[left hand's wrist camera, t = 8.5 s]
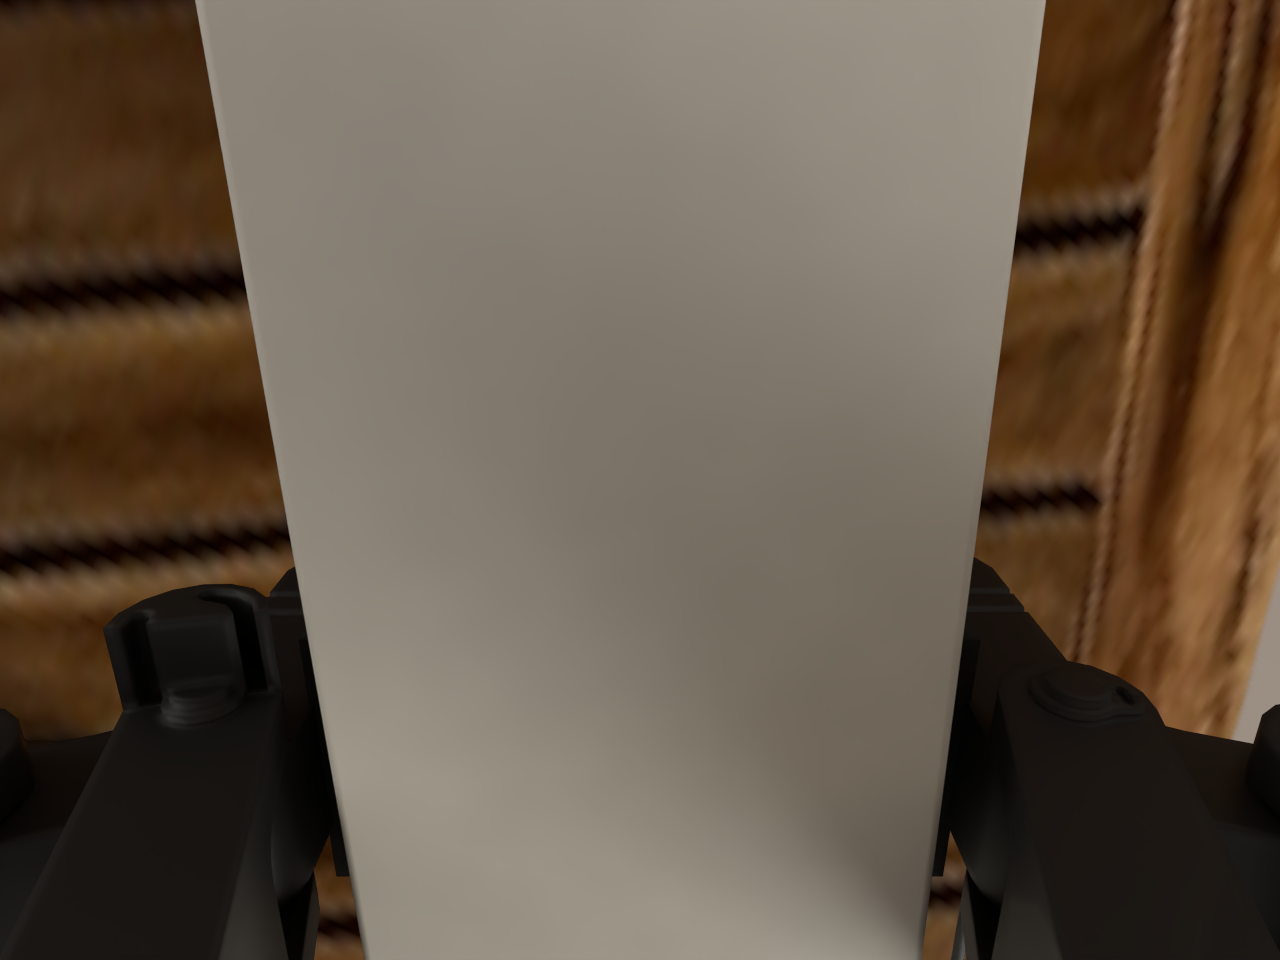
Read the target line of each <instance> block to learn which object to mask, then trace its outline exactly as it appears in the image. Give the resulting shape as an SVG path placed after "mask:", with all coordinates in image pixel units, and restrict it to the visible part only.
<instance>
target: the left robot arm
mask: <svg viewBox="0 0 1280 960" xmlns="http://www.w3.org/2000/svg"><path fill="white" fill-rule="evenodd" d="M103 631H104V635H105V639H106V643H107V647H108V651H109V655H110V659H111V663H112V667H113V671H114V675H115V679H116V683H117V687H118V691H119V695H120V699H121V703H122V707H123V712H122V714H121V716H120V718H119V720H118V722H117V724H116V726H115V728H114V730H113V731H109V732H105V733H101V734H97V735H92V736H87V737H81V738H76V739H71V740H66V741H60V742H46V741H25V740H24V737H23V734H22V730H21V727H20V724H19V720H18V719H17V718H16V717H14V716H13V715H12V714H10V713H9V712H8V711H6V710H5V709H0V960H314V954H315V946H316V938H317V930H318V921H319V913H320V906H319V900H318V893H317V887H316V881H315V875H314V868H315V866H316V863H317V861H318V859H319V856H320V854H321V852H322V850H323V847H324V845H325V843H326V841H327V838H328V836H329V834H330V839H331V845H332V851H333V858H334V864H335V870H336V876H350V873H349V868H348V862H347V856H346V851H345V845H344V839H343V834H342V828H341V822H340V817H339V811H338V805H337V800H336V794H335V789H334V783H333V777H332V772H331V766H330V760H329V755H328V749H327V743H326V738H325V732H324V726H323V721H322V715H321V709H320V704H319V698H318V692H317V687H316V681H315V675H314V670H313V664H312V658H311V653H310V647H309V641H308V636H307V630H306V624H305V619H304V613H303V607H302V602H301V596H300V590H299V585H298V579H297V573H296V568H295V567H293V568H292V569H290V570H288V571H287V572H286V573H285V575H284V576H283V577H282V578H281V580H280V581H279V582H278V583H277V585H276V586H275V587H274V588H273V590H272V591H271V592H270V597H265V596H263V595H262V594H261V593H259V592H258V591H256V590H255V589H253V588H248V587H244V586H239V585H234V584H203V585H198V586H192V587H187V588H181V589H175V590H171V591H168V592H165V593H162V594H159V595H156V596H153V597H150V598H147V599H144V600H142V601H140V602H138V603H137V604H135V605H133V606H131V607H129V608H127V609H126V610H124V611H122V612H120V613H118V614H117V615H116V616H115V617H114V618H113V619H112V620H111V621H110V622H109V623H108V624H107V625H106V626H105V627H104V628H103ZM950 831H951V833H952V835H953V838H954V840H955V842H956V844H957V847H958V849H959V851H960V853H961V856H962V858H963V860H964V863H965V865H966V867H967V869H966V875H965V881H964V887H963V893H962V898H961V904H960V910H959V916H958V922H957V927H956V933H955V939H954V945H953V951H952V958H951V960H964V957H965V952H966V960H1280V704H1279V705H1275V706H1274V707H1272V708H1271V709H1270V710H1268V711H1267V712H1265V713H1264V714H1263V715H1262V717H1261V721H1260V724H1259V727H1258V731H1257V734H1256V737H1255V740H1254V744H1251V743H1246V742H1241V741H1235V740H1230V739H1225V738H1220V737H1214V736H1209V735H1204V734H1198V733H1193V732H1188V731H1183V730H1179V729H1175V728H1171V727H1167V726H1165V724H1164V722H1163V721H1162V719H1161V717H1160V715H1159V713H1158V711H1157V709H1156V708H1155V707H1154V705H1153V704H1152V703H1151V702H1150V701H1149V699H1148V698H1147V697H1146V696H1145V695H1144V693H1143V692H1141V691H1140V690H1138V689H1137V688H1135V687H1134V686H1132V685H1131V684H1129V683H1128V682H1126V681H1124V680H1123V679H1121V678H1120V677H1118V676H1115V675H1113V674H1110V673H1108V672H1105V671H1103V670H1100V669H1098V668H1095V667H1093V666H1089V665H1085V664H1080V663H1075V662H1070V661H1067V660H1066V659H1065V657H1064V656H1063V655H1062V654H1061V653H1060V651H1059V650H1058V649H1057V648H1056V646H1055V645H1054V644H1053V643H1052V641H1051V640H1050V639H1049V638H1048V636H1047V635H1046V634H1045V633H1044V631H1043V630H1042V629H1041V628H1040V626H1039V625H1038V624H1037V623H1036V622H1035V620H1034V619H1033V618H1032V617H1031V615H1030V614H1029V613H1028V612H1024V607H1023V605H1022V604H1021V603H1020V602H1019V600H1018V599H1017V598H1016V597H1015V595H1014V594H1010V589H1009V588H1008V587H1007V586H1006V584H1005V583H1004V582H1003V581H1002V579H1001V578H1000V577H999V576H998V574H997V573H996V572H995V571H994V569H993V568H992V567H990V566H988V565H987V564H985V563H983V562H981V561H980V560H978V559H976V558H975V557H973V564H972V572H971V580H970V587H969V595H968V603H967V611H966V618H965V626H964V634H963V641H962V649H961V657H960V664H959V672H958V680H957V687H956V695H955V703H954V711H953V718H952V726H951V734H950V741H949V749H948V757H947V764H946V772H945V780H944V787H943V795H942V803H941V811H940V818H939V826H938V834H937V841H936V849H935V857H934V864H933V872H932V876H943V872H944V865H945V859H946V853H947V847H948V840H949V834H950Z"/></svg>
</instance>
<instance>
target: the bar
mask: <svg viewBox="0 0 1280 960" xmlns="http://www.w3.org/2000/svg"><path fill="white" fill-rule="evenodd" d="M195 1H196V7H197V13H198V18H199V24H200V30H201V35H202V41H203V47H204V52H205V58H206V64H207V69H208V75H209V81H210V86H211V92H212V98H213V103H214V109H215V115H216V120H217V126H218V132H219V137H220V143H221V149H222V154H223V160H224V166H225V171H226V177H227V183H228V188H229V194H230V200H231V205H232V211H233V217H234V222H235V228H236V234H237V239H238V245H239V251H240V256H241V262H242V268H243V273H244V279H245V285H246V290H247V296H248V302H249V307H250V313H251V319H252V324H253V330H254V335H255V341H256V347H257V352H258V358H259V364H260V369H261V375H262V381H263V386H264V392H265V398H266V403H267V409H268V415H269V420H270V426H271V432H272V437H273V443H274V449H275V454H276V460H277V466H278V471H279V477H280V483H281V488H282V494H283V500H284V505H285V511H286V517H287V522H288V528H289V534H290V539H291V545H292V551H293V556H294V562H295V568H296V573H297V579H298V585H299V590H300V596H301V602H302V607H303V613H304V619H305V624H306V630H307V636H308V641H309V647H310V653H311V658H312V664H313V670H314V675H315V681H316V687H317V692H318V698H319V704H320V709H321V715H322V721H323V726H324V732H325V738H326V743H327V749H328V755H329V760H330V766H331V772H332V777H333V783H334V789H335V794H336V800H337V805H338V811H339V817H340V822H341V828H342V834H343V839H344V845H345V851H346V856H347V862H348V868H349V873H350V879H351V885H352V890H353V896H354V902H355V907H356V913H357V919H358V924H359V930H360V936H361V941H362V947H363V953H364V958H365V960H921V957H922V949H923V941H924V934H925V926H926V918H927V911H928V903H929V895H930V888H931V880H932V872H933V864H934V857H935V849H936V841H937V834H938V826H939V818H940V811H941V803H942V795H943V787H944V780H945V772H946V764H947V757H948V749H949V741H950V734H951V726H952V718H953V711H954V703H955V695H956V687H957V680H958V672H959V664H960V657H961V649H962V641H963V634H964V626H965V618H966V611H967V603H968V595H969V587H970V580H971V572H972V564H973V557H974V549H975V541H976V534H977V526H978V518H979V511H980V503H981V495H982V487H983V480H984V472H985V464H986V457H987V449H988V441H989V434H990V426H991V418H992V411H993V403H994V395H995V387H996V380H997V372H998V364H999V357H1000V349H1001V341H1002V334H1003V326H1004V318H1005V310H1006V303H1007V295H1008V287H1009V280H1010V272H1011V264H1012V257H1013V249H1014V241H1015V234H1016V226H1017V218H1018V210H1019V203H1020V195H1021V187H1022V180H1023V172H1024V164H1025V157H1026V149H1027V141H1028V134H1029V126H1030V118H1031V110H1032V103H1033V95H1034V87H1035V80H1036V72H1037V64H1038V57H1039V49H1040V41H1041V34H1042V26H1043V18H1044V10H1045V3H1046V0H195Z"/></svg>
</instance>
